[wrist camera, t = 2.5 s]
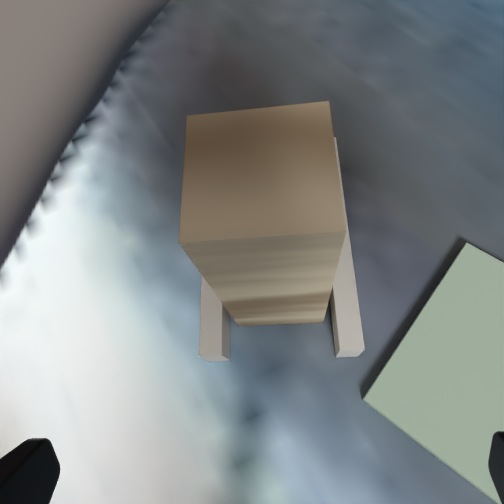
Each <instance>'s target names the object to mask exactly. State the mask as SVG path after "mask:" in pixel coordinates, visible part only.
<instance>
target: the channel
mask: <svg viewBox="0 0 504 504" xmlns="http://www.w3.org/2000/svg"><path fill="white" fill-rule="evenodd" d="M334 142H335V150H336V158H337V165H338V173H339V180H340V188H341V195H342V203H343V210H344V218H345V225H346V235H345V239H344V243H343V246H342V250H341V254H340V258H339V262H338V266H337V270H336V274H335V278H334V282H333V286H332V290H331V294H330V307H331V317H332V327H333V336H334V346H335V355H336V357H358V356H359V355H360V354H361V353H362V352H363V351H364V350H365V349H364V341H363V334H362V327H361V319H360V312H359V305H358V297H357V290H356V282H355V275H354V268H353V260H352V253H351V246H350V238H349V231H348V223H347V216H346V209H345V201H344V194H343V187H342V179H341V172H340V164H339V157H338V150H337V142H336V137H335V138H334ZM199 356H200V357H202V358H204V359H205V360H207V361H209V362H216V361H230V314H229V312H228V311H227V309H226V308H225V307H224V305H223V304H222V302H221V301H220V300H219V298H218V297H217V296H216V294H215V293H214V291H213V290H212V289H211V287H210V286H209V284H208V283H207V282H206V280H205V279H204V277H203V276H202V281H201V309H200V336H199Z"/></svg>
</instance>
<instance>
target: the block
mask: <svg viewBox="0 0 504 504" xmlns="http://www.w3.org/2000/svg"><path fill="white" fill-rule="evenodd" d="M345 235H346V225H345V218H344V210H343V203H342V195H341V188H340V180H339V173H338V165H337V158H336V150H335V142H334V135H333V127H332V120H331V112H330V105H329V101H324V102H314V103H304V104H295V105H285V106H275V107H266V108H256V109H246V110H237V111H227V112H217V113H208V114H198V115H189V116H187V123H186V139H185V154H184V170H183V185H182V201H181V216H180V232H179V244H180V245H181V247H182V248H183V249H184V251H185V252H186V254H187V255H188V256H189V258H190V259H191V261H192V262H193V263H194V265H195V266H196V268H197V269H198V270H199V272H200V273H201V275H202V276H203V277H204V279H205V280H206V282H207V283H208V284H209V286H210V287H211V289H212V290H213V291H214V293H215V294H216V296H217V297H218V298H219V300H220V301H221V302H222V304H223V305H224V307H225V308H226V309H227V311H228V312H229V314H230V315H231V316H232V318H233V319H234V321H235V322H236V323H237V325H238V326H253V325H275V324H298V323H320V322H323V321H324V317H325V314H326V310H327V306H328V302H329V298H330V294H331V290H332V286H333V282H334V278H335V274H336V270H337V266H338V262H339V258H340V254H341V250H342V246H343V243H344V239H345Z"/></svg>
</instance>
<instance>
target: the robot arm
mask: <svg viewBox="0 0 504 504" xmlns="http://www.w3.org/2000/svg"><path fill="white" fill-rule="evenodd" d="M488 468H489V472H490V476H491V478H492V481H493V483H494V486H495V488H496V491H497V493H498V496H499V498H500V501H501V503H502V504H504V431H497V432H495V433H494V434H493V437H492V443H491V448H490V454H489V459H488ZM59 474H60V464H59V461H58V459H57V456H56V454H55V451H54V449H53V446H52V443H51V442H50V440H48V439H47V438H31V439H28V440H26V441H24V442H23V443H21V444H20V445H19V446H17V447H16V448H15V449H13V450H12V451H10V452H9V453H8V454H6V455H5V456H4V457H2V458H1V459H0V504H49V502H50V500H51V497H52V494H53V492H54V489H55V486H56V484H57V481H58V478H59Z"/></svg>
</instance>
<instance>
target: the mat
mask: <svg viewBox="0 0 504 504" xmlns="http://www.w3.org/2000/svg"><path fill="white" fill-rule="evenodd" d="M362 400H363V401H364V402H366V403H367V404H368V405H369V406H371V407H372V408H373V409H375V410H376V411H377V412H379V413H380V414H381V415H382V416H384V417H385V418H386V419H388V420H389V421H390V422H391V423H393V424H394V425H395V426H397V427H398V428H399V429H401V430H402V431H403V432H404V433H406V434H407V435H408V436H410V437H411V438H412V439H414V440H415V441H416V442H417V443H419V444H420V445H421V446H423V447H424V448H425V449H426V450H428V451H429V452H430V453H432V454H433V455H434V456H436V457H437V458H438V459H439V460H441V461H442V462H443V463H445V464H446V465H447V466H448V467H450V468H451V469H452V470H454V471H455V472H456V473H458V474H459V475H460V476H461V477H463V478H464V479H465V480H467V481H468V482H469V483H471V484H472V485H473V486H474V487H476V488H477V489H478V490H480V491H481V492H482V493H483V494H485V495H486V496H487V497H489V498H490V499H491V500H493V501H494V502H495V503H496V504H502V503H501V501H500V498H499V496H498V493H497V491H496V488H495V486H494V483H493V481H492V478H491V476H490V472H489V468H488V459H489V454H490V448H491V443H492V437H493V434H494V433H495V432H497V431H504V263H503V262H501V261H499V260H498V259H496V258H494V257H492V256H490V255H488V254H487V253H485V252H483V251H481V250H479V249H478V248H476V247H474V246H472V245H470V244H469V243H466V244H465V245H464V246H463V247H462V249H461V250H460V252H459V253H458V255H457V256H456V258H455V259H454V261H453V262H452V264H451V265H450V267H449V268H448V270H447V272H446V273H445V275H444V276H443V278H442V279H441V281H440V282H439V284H438V285H437V287H436V288H435V290H434V291H433V293H432V294H431V296H430V297H429V299H428V300H427V302H426V303H425V305H424V306H423V308H422V309H421V311H420V312H419V314H418V315H417V317H416V318H415V320H414V322H413V323H412V325H411V326H410V328H409V329H408V331H407V332H406V334H405V335H404V337H403V338H402V340H401V341H400V343H399V344H398V346H397V347H396V349H395V350H394V352H393V353H392V355H391V356H390V358H389V359H388V361H387V362H386V364H385V365H384V367H383V369H382V370H381V372H380V373H379V375H378V376H377V378H376V379H375V381H374V382H373V384H372V385H371V387H370V388H369V390H368V391H367V393H366V394H365V396H364V397H363V399H362Z"/></svg>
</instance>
